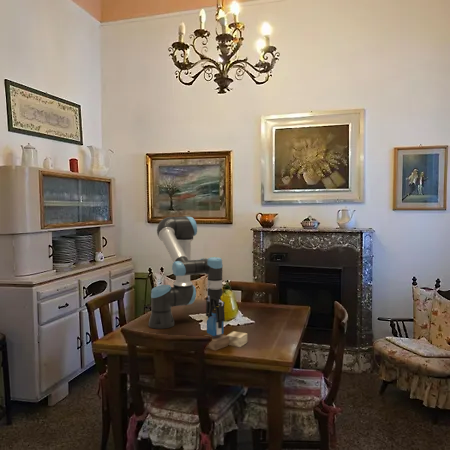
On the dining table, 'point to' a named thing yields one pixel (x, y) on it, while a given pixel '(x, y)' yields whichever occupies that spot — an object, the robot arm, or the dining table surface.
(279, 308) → the dining table surface
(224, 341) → the walnut block
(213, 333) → the blue carton
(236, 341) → the beech block
